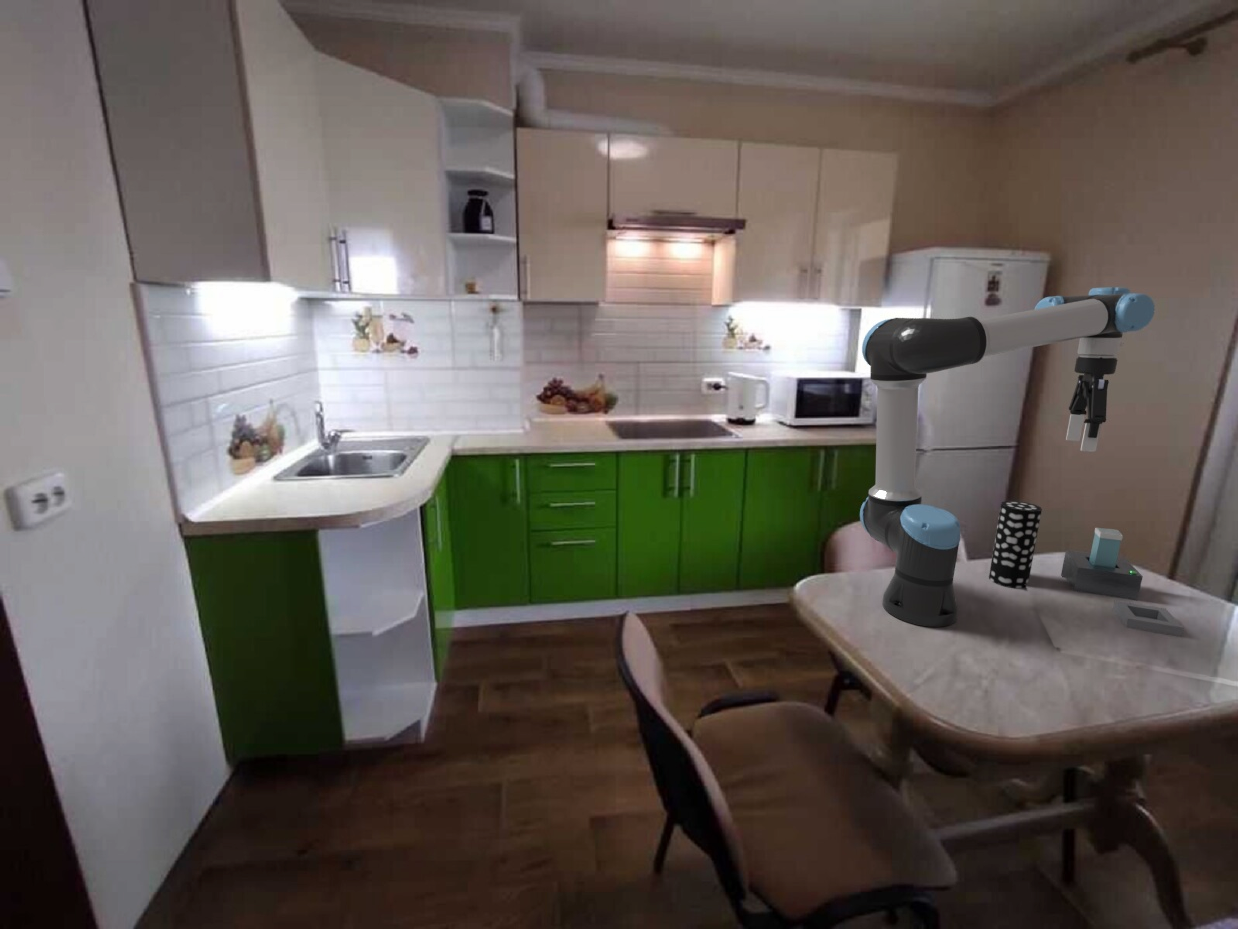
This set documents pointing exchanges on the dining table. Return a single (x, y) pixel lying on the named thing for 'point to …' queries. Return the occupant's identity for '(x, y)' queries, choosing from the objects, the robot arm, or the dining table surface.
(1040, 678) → the dining table surface
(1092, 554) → the plug
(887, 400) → the robot arm
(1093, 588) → the port
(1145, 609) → the square frame socket
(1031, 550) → the spotted tube
